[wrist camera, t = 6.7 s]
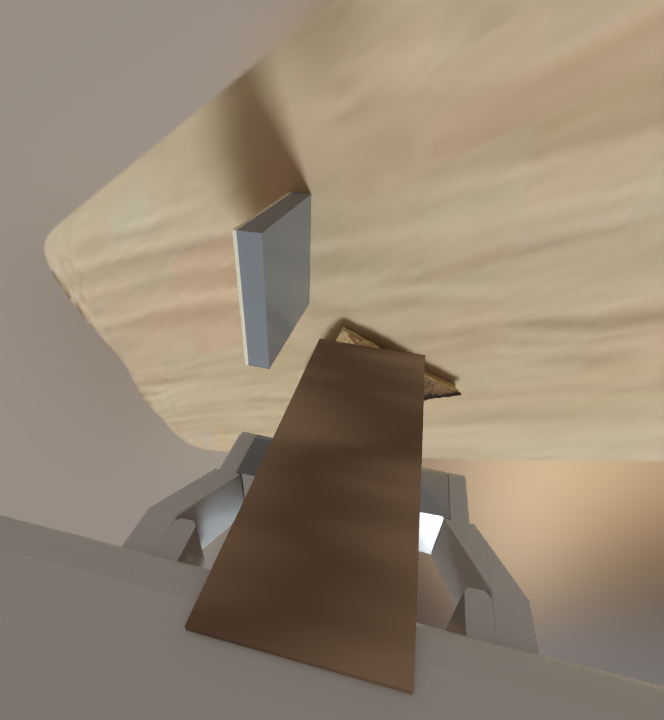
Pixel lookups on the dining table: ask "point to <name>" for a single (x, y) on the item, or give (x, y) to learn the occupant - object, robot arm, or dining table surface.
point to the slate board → (273, 275)
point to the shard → (432, 383)
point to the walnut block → (331, 525)
